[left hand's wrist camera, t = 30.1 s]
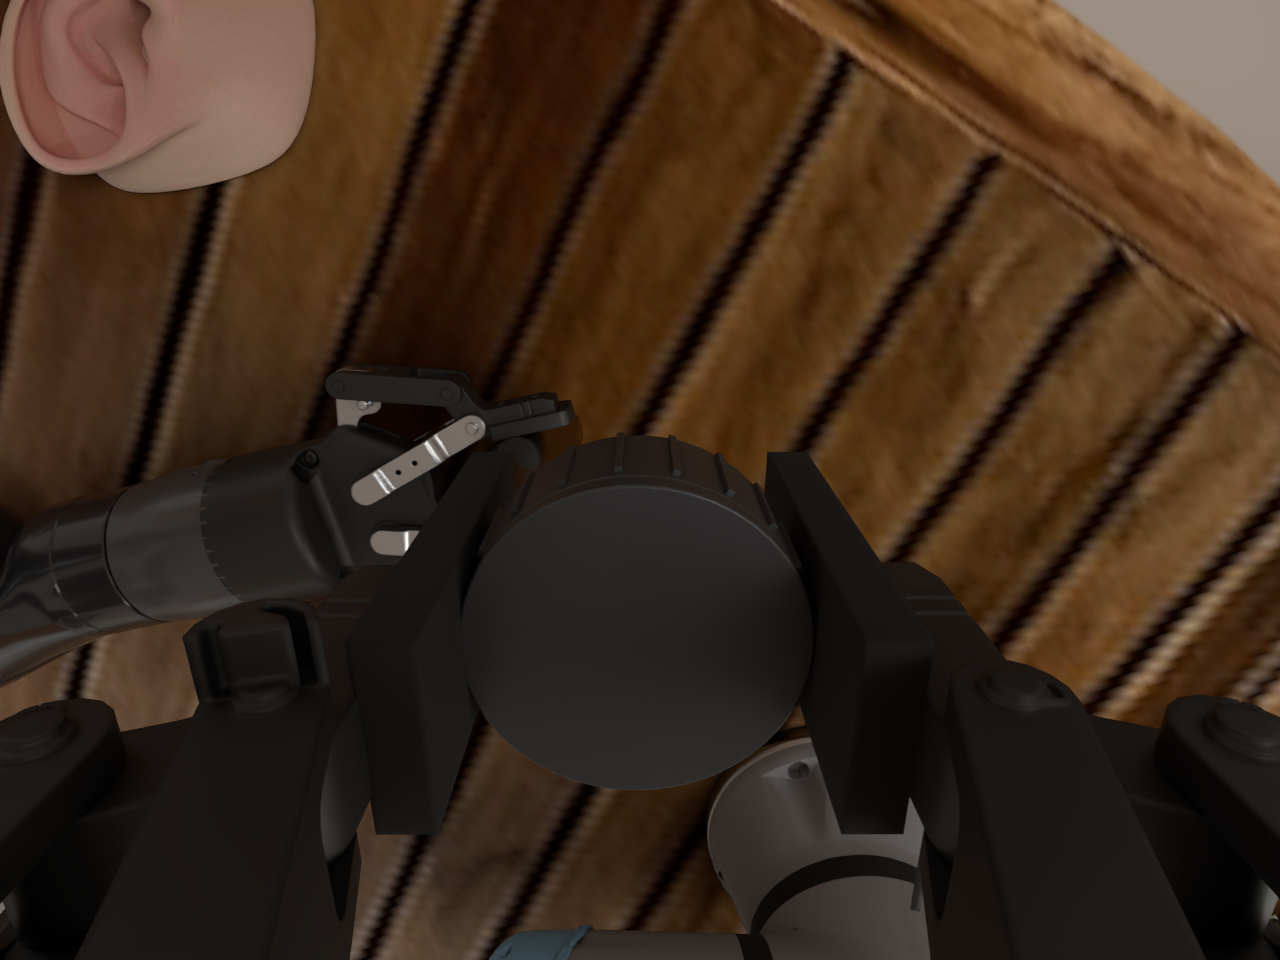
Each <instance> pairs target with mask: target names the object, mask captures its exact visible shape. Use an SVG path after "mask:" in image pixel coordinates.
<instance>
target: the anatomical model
mask: <svg viewBox="0 0 1280 960" xmlns="http://www.w3.org/2000/svg"><path fill="white" fill-rule="evenodd" d="M315 44H316V27H315V11H314V3H313V0H11V1H10V4H9V6H8V9H7V12H6V14H5V17H4V22H3V28H2V33H1V38H0V85H1V91H2V95H3V99H4V103H5V106H6V109H7V112H8V115H9V117H10V120H11V122H12V125H13V127H14V130H15V131H16V133H17V135H18V137H19V139H20V141H21V143H22V144H23V146H24V147H25V148H26V150H27V151H28V153H29V154H30V155H31V156H32V157H33V158H34V159H35V160H36V161H37V162H38V163H40V164H41V165H42V166H44V167H46V168H47V169H50V170H52V171H54V172H58V173H61V174H68V175H84V174H92V173H97V174H98V175H99V176H100V177H101V178H102V179H104V180H105V181H106V182H107V183H109V184H111V185H112V186H114V187H117V188H119V189H122V190H125V191H129V192H137V193H156V192H167V191H175V190H182V189H189V188H194V187H199V186H204V185H208V184H212V183H217V182H221V181H225V180H228V179H232V178H235V177H238V176H242V175H245V174H247V173H250V172H252V171H255V170H257V169H260V168H262V167H264V166H266V165H268V164H270V163H271V162H273V161H274V160H276V159H277V158H279V157H280V156H281V155H282V154H283V153H284V152H285V151H286V150H287V149H288V148H289V147H290V146H291V144H292V143H293V141H294V139H295V138H296V136H297V135H298V132H299V130H300V128H301V126H302V123H303V120H304V117H305V114H306V111H307V107H308V104H309V99H310V94H311V88H312V82H313V72H314V63H315Z"/></svg>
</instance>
